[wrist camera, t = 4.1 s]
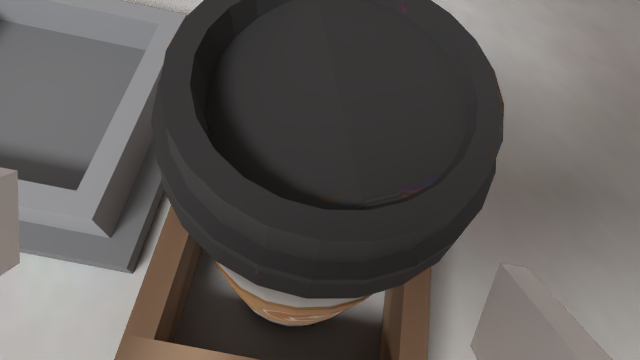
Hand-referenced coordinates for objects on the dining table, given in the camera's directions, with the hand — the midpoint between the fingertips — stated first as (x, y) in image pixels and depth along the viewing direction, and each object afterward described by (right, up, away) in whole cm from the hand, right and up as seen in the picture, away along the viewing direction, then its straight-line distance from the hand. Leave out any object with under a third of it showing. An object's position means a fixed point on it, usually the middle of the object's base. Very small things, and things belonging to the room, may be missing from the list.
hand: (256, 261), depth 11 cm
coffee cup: (0, -2, +11) cm, 11 cm away
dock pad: (-14, +6, +13) cm, 20 cm away
